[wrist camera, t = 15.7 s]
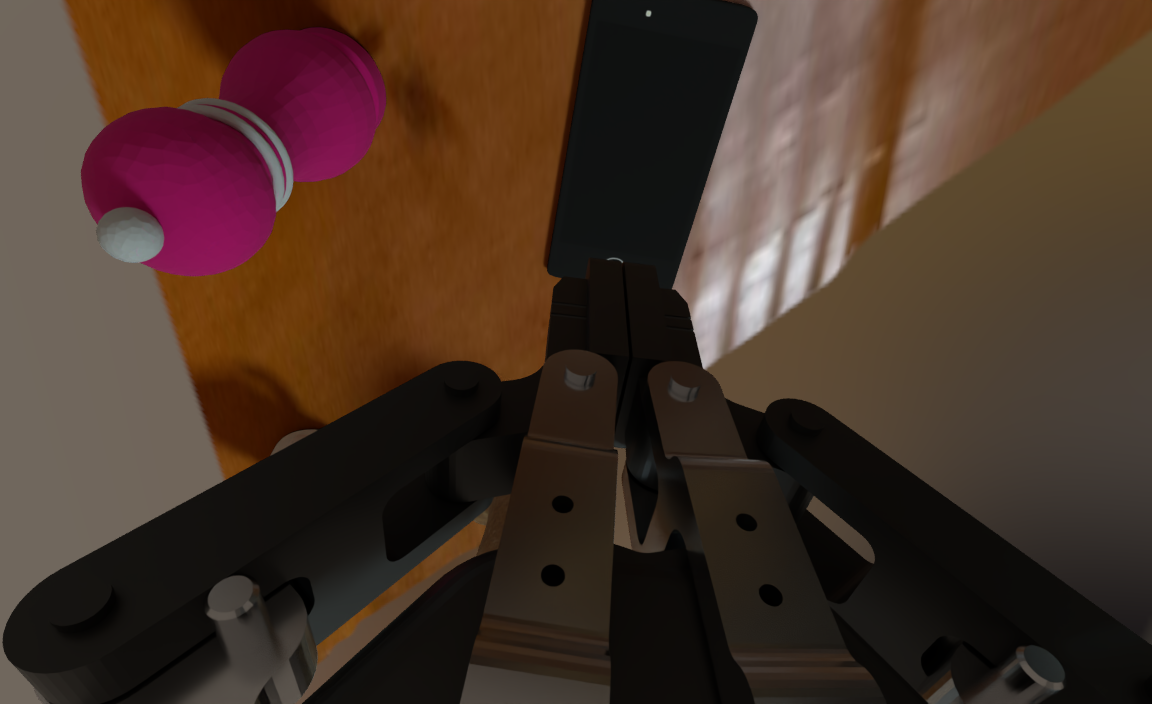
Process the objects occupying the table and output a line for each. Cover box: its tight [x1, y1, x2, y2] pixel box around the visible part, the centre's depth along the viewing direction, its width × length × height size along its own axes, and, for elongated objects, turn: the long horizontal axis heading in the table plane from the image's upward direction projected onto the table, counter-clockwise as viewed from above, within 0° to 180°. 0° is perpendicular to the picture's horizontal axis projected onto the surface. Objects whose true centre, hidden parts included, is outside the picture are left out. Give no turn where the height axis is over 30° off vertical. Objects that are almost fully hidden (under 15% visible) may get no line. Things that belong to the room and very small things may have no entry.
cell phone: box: [547, 0, 758, 289], centre depth 37 cm, size 9×18×1 cm, turn 170°
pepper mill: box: [81, 27, 386, 276], centre depth 27 cm, size 7×7×20 cm
